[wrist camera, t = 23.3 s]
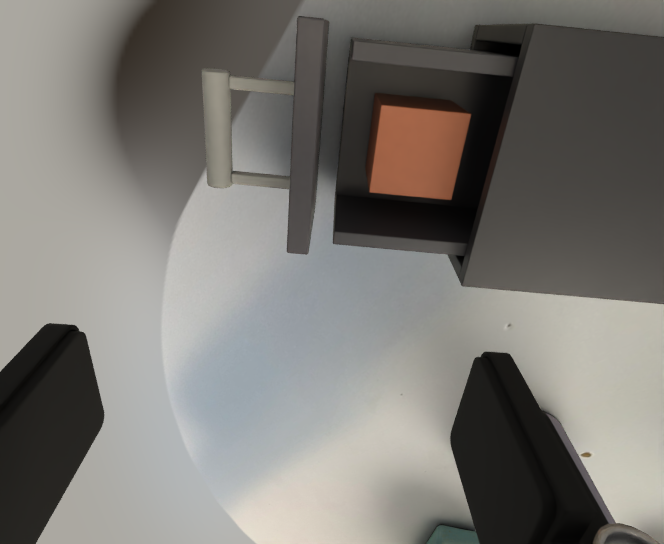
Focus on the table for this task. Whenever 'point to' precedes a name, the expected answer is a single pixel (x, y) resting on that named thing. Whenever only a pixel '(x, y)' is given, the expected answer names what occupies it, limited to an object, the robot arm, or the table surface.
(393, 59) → the sliding drawer
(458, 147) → the block
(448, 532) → the flower pot
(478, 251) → the dark grey drawer box
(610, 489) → the table surface
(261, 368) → the table surface
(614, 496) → the table surface
